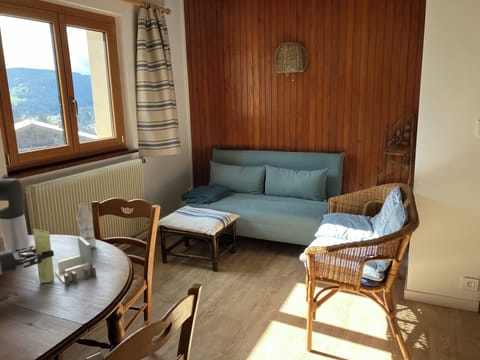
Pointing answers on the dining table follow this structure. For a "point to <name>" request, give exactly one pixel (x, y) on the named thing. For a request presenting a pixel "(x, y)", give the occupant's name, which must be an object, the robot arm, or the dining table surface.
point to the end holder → (76, 262)
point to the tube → (46, 265)
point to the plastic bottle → (86, 224)
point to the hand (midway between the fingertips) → (50, 250)
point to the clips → (74, 278)
